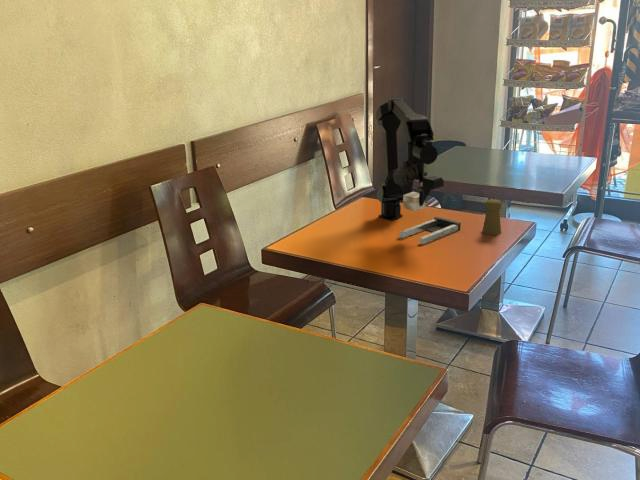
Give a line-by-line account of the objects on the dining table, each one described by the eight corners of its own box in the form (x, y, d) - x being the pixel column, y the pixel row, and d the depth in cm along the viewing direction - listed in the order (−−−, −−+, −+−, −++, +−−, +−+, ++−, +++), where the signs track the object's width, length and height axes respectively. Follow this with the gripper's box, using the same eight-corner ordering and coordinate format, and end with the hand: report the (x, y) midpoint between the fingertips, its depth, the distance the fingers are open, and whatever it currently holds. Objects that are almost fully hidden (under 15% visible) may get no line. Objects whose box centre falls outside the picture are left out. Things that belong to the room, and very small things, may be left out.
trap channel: (399, 237, 205) (399, 230, 204) (436, 223, 217) (436, 216, 217) (423, 244, 198) (423, 237, 197) (460, 229, 210) (460, 222, 210)
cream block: (403, 208, 202) (403, 194, 200) (413, 204, 205) (413, 191, 203) (414, 211, 198) (415, 197, 197) (424, 207, 201) (425, 194, 200)
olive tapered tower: (501, 235, 204) (503, 203, 200) (482, 234, 205) (484, 202, 201) (500, 229, 209) (502, 197, 206) (481, 228, 211) (483, 197, 207)
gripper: (376, 157, 198) (376, 203, 203) (422, 166, 184) (421, 216, 190) (400, 151, 204) (399, 196, 210) (445, 159, 191) (443, 208, 197)
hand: (414, 204), depth 201 cm, fingers closed on cream block, 5 cm apart
